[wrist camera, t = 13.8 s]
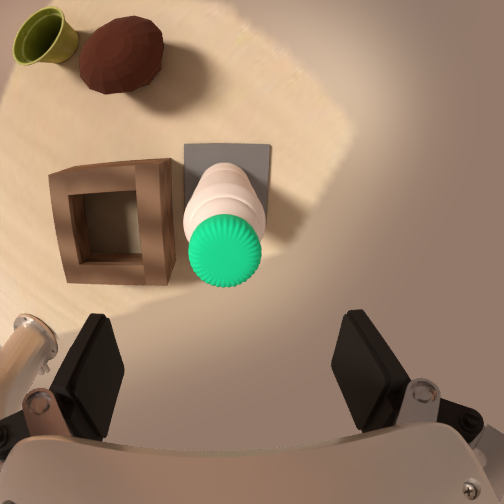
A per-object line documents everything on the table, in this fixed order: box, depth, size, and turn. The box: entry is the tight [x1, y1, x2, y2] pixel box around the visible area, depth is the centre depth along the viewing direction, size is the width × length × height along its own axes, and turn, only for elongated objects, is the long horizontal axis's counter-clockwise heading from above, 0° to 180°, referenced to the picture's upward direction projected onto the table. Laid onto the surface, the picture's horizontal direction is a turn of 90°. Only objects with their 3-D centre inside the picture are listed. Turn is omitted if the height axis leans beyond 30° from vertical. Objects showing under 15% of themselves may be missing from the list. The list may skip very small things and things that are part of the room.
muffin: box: [79, 16, 164, 95], centre depth 28 cm, size 12×11×10 cm
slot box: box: [48, 158, 176, 286], centre depth 37 cm, size 16×16×8 cm
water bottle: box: [183, 163, 266, 288], centre depth 29 cm, size 7×7×25 cm
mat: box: [184, 143, 270, 225], centre depth 41 cm, size 12×12×1 cm
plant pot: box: [13, 6, 79, 65], centre depth 25 cm, size 9×9×9 cm
